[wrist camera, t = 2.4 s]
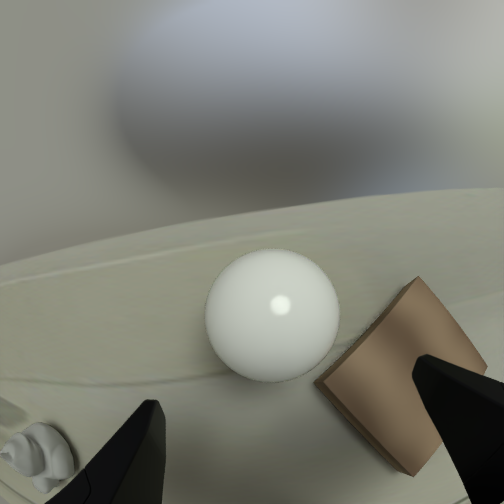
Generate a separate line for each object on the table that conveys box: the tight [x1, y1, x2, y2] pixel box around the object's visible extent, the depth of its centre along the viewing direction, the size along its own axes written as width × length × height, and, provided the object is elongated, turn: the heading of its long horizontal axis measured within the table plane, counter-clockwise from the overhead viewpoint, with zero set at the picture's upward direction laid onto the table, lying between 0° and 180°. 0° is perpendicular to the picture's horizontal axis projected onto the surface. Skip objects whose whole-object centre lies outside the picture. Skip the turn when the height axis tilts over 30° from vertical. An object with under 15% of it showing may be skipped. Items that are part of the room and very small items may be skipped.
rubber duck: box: [0, 422, 74, 494], centre depth 10 cm, size 5×7×8 cm
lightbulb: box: [204, 248, 340, 383], centre depth 15 cm, size 6×6×11 cm
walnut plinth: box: [313, 276, 488, 477], centre depth 17 cm, size 12×12×2 cm
